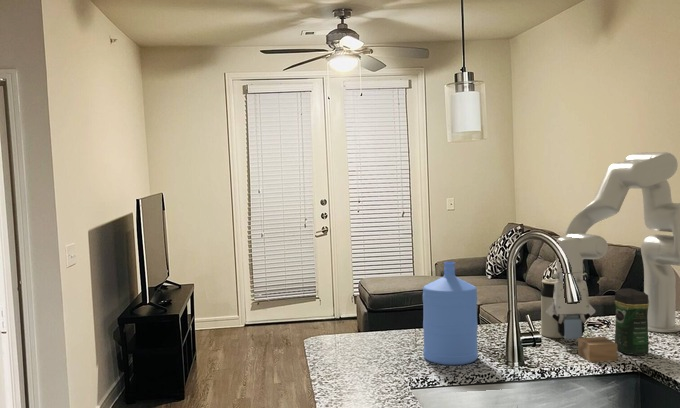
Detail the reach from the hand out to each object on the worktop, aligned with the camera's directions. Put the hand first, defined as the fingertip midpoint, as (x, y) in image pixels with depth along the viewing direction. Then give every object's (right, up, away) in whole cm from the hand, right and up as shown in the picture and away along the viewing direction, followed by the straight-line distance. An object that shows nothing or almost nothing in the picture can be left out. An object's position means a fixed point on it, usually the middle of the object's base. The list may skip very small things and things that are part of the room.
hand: (571, 334), depth 204 cm
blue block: (0, -1, 0) cm, 1 cm away
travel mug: (-2, -3, +11) cm, 11 cm away
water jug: (-40, -5, -12) cm, 42 cm away
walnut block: (+2, -4, -14) cm, 15 cm away
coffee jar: (+14, -3, -9) cm, 18 cm away
